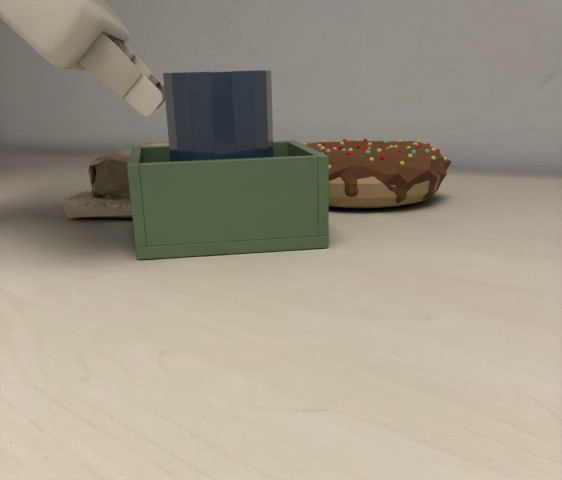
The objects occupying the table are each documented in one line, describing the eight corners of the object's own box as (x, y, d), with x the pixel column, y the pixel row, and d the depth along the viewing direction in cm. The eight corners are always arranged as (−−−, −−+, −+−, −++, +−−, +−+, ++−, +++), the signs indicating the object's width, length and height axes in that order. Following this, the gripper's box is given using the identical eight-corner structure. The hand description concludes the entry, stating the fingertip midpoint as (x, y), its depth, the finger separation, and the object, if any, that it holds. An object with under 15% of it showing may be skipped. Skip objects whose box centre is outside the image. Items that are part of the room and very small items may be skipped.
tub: (136, 259, 44) (126, 164, 42) (139, 224, 55) (131, 147, 52) (328, 247, 46) (328, 155, 44) (296, 216, 56) (295, 140, 54)
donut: (283, 216, 56) (282, 151, 54) (291, 189, 69) (290, 135, 67) (463, 214, 56) (468, 147, 54) (438, 187, 68) (442, 132, 66)
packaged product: (133, 138, 71) (229, 137, 70) (138, 187, 73) (232, 187, 72) (53, 158, 55) (176, 158, 53) (62, 220, 57) (181, 221, 55)
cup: (176, 237, 46) (163, 72, 42) (175, 217, 53) (163, 73, 49) (281, 231, 47) (277, 69, 43) (267, 213, 54) (263, 70, 50)
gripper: (-44, -169, 31) (191, 65, 36) (45, -78, 50) (192, 69, 55) (-124, -53, 33) (113, 158, 38) (-8, -6, 51) (140, 130, 56)
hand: (160, 105), depth 46 cm, fingers open, 8 cm apart
